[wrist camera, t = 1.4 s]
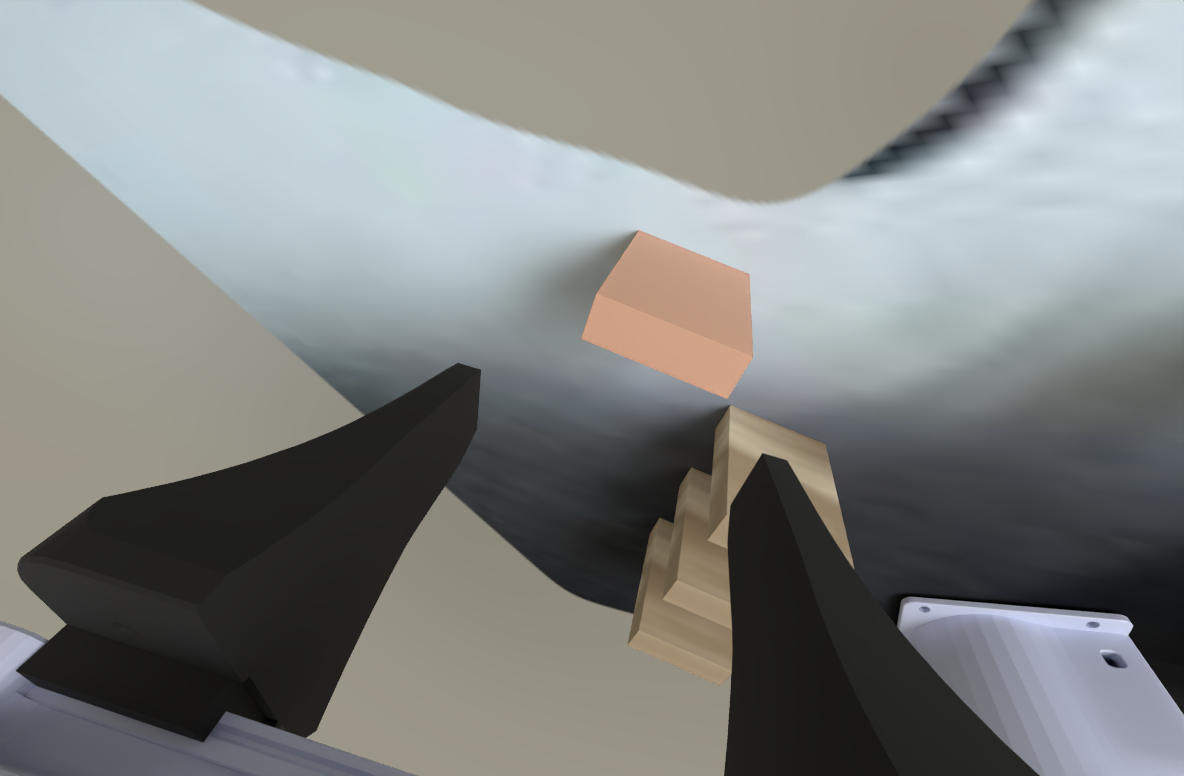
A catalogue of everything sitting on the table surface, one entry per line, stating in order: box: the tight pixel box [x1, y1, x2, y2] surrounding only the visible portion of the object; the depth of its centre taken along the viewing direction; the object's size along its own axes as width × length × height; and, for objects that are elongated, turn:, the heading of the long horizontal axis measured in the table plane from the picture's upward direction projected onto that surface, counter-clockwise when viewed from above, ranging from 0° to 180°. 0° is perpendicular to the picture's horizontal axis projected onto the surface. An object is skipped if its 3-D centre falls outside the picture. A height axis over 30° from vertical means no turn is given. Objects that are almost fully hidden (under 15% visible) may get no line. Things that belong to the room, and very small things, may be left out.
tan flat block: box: [662, 467, 732, 629], centre depth 23 cm, size 2×5×7 cm, turn 73°
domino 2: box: [628, 518, 732, 685], centre depth 25 cm, size 2×5×7 cm, turn 73°
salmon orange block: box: [581, 230, 753, 399], centre depth 17 cm, size 2×5×7 cm, turn 74°
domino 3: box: [707, 405, 854, 569], centre depth 20 cm, size 2×5×7 cm, turn 73°
